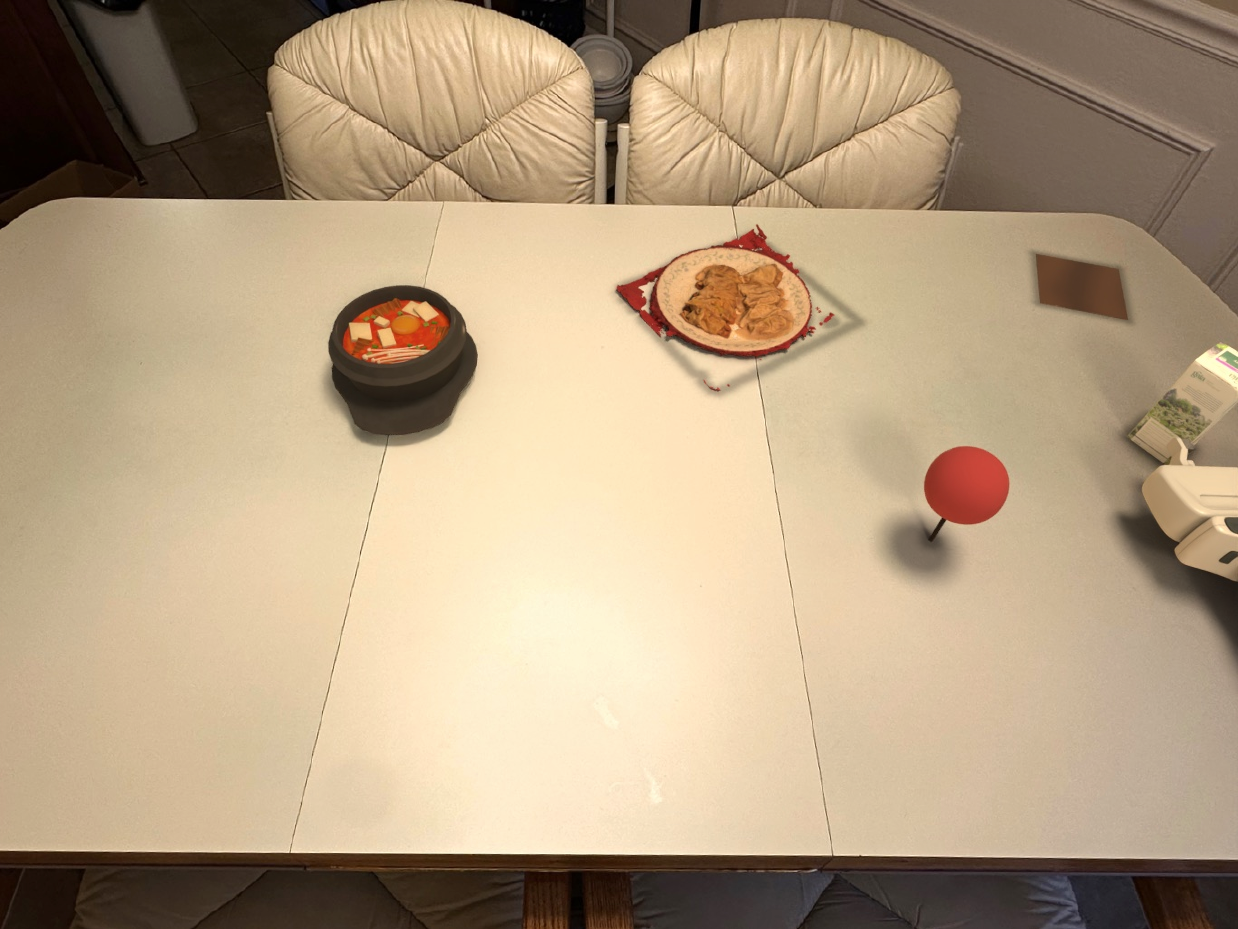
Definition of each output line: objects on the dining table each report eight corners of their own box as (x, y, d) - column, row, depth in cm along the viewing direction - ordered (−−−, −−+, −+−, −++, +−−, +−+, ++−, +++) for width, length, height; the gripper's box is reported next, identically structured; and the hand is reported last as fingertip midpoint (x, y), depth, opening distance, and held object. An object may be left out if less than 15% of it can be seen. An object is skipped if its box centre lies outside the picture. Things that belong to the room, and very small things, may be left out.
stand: (1115, 274, 113) (1118, 268, 113) (1124, 325, 106) (1128, 319, 105) (1033, 258, 115) (1036, 253, 114) (1036, 308, 108) (1040, 302, 107)
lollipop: (967, 530, 84) (1027, 448, 73) (954, 584, 80) (1016, 506, 68) (900, 505, 86) (948, 421, 74) (884, 556, 82) (933, 476, 70)
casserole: (483, 437, 91) (473, 390, 85) (327, 452, 89) (305, 406, 83) (476, 303, 106) (468, 254, 99) (343, 314, 104) (325, 265, 98)
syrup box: (1189, 451, 92) (1273, 368, 81) (1162, 472, 90) (1245, 390, 79) (1147, 421, 95) (1223, 338, 84) (1120, 441, 93) (1194, 358, 81)
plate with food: (614, 296, 108) (614, 277, 105) (752, 236, 116) (755, 217, 114) (713, 400, 96) (716, 382, 94) (858, 326, 105) (865, 307, 102)
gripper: (1413, 536, 72) (1334, 427, 80) (1202, 529, 72) (1145, 421, 80) (1360, 568, 77) (1291, 462, 85) (1163, 561, 77) (1113, 456, 85)
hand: (1218, 442), depth 83 cm, fingers open, 8 cm apart
